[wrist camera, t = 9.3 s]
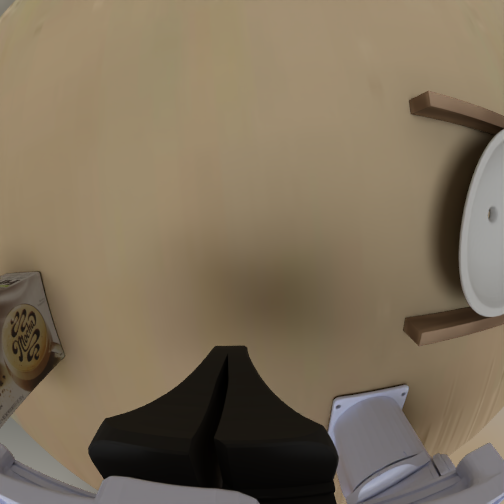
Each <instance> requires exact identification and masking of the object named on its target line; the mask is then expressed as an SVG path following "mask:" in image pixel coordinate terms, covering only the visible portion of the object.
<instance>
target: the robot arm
mask: <svg viewBox="0 0 504 504" xmlns="http://www.w3.org/2000/svg"><path fill="white" fill-rule="evenodd" d="M408 390H409V387H408V386H407V385H401V386H397V387H392V388H388V389H383V390H378V391H372V392H367V393H361V394H355V395H349V396H342V397H337V398H335V399H334V401H333V405H332V411H331V417H330V422H329V427H328V433H327V431H326V429H325V428H324V426H322V425H320V424H318V423H316V422H314V421H312V420H310V419H308V418H306V417H304V416H302V415H300V414H299V413H297V412H296V411H294V410H293V409H292V408H290V407H289V406H288V405H286V404H285V403H284V402H283V401H281V400H280V399H279V398H278V397H277V396H276V395H275V394H274V393H273V392H272V391H271V390H270V388H269V387H268V386H267V385H266V384H265V382H264V381H263V380H262V378H261V377H260V375H259V374H258V372H257V370H256V369H255V367H254V365H253V363H252V361H251V359H250V357H249V354H248V351H247V347H246V346H215V347H214V348H213V349H212V350H211V352H210V353H209V354H208V355H207V357H206V358H205V359H204V360H203V361H202V363H201V364H200V365H199V366H198V367H197V368H196V369H195V370H194V371H193V372H192V373H191V374H190V375H189V376H188V377H187V378H186V379H185V380H184V381H183V382H181V383H180V384H179V385H178V386H177V387H175V388H174V389H172V390H171V391H170V392H168V393H167V394H165V395H163V396H161V397H160V398H158V399H156V400H154V401H153V402H151V403H149V404H147V405H145V406H142V407H140V408H138V409H135V410H133V411H130V412H127V413H124V414H120V415H117V416H113V417H110V418H105V420H104V421H103V423H102V424H101V426H100V427H99V429H98V431H97V433H96V435H95V436H94V438H93V440H92V442H91V444H90V446H89V448H88V452H89V456H90V458H91V460H92V462H93V463H94V465H95V466H96V468H97V469H98V471H99V472H100V474H101V475H102V477H103V478H104V480H103V481H102V483H101V486H100V488H99V490H98V493H97V494H94V493H91V492H88V491H85V490H82V489H79V488H76V487H74V486H71V485H69V484H66V483H64V482H61V481H59V480H56V479H54V478H51V477H49V476H47V475H45V474H43V473H40V472H38V471H36V470H34V469H32V468H30V467H28V466H26V465H24V464H22V463H20V462H18V461H16V460H15V458H14V457H13V455H12V454H11V452H10V451H9V450H8V449H7V448H6V447H5V446H4V445H3V444H1V443H0V504H336V500H335V496H334V493H335V485H334V481H333V479H334V476H335V473H336V472H337V475H338V479H339V482H340V486H341V490H342V493H343V495H344V497H345V498H346V501H347V504H500V503H501V502H502V501H503V500H504V460H503V459H502V457H501V456H500V455H499V453H498V452H497V451H496V449H495V448H494V447H493V446H492V444H491V443H487V444H485V445H483V446H482V447H480V448H478V449H476V450H474V451H472V452H470V453H469V454H467V455H466V456H465V457H464V458H463V459H462V460H461V461H460V462H459V464H458V466H457V467H456V468H455V466H454V464H453V463H452V461H451V460H450V458H449V457H448V455H447V454H440V453H437V454H436V455H434V456H433V459H432V457H431V456H430V455H429V454H428V452H427V451H426V449H425V447H424V446H423V444H422V442H421V441H420V439H419V437H418V436H417V434H416V432H415V431H414V429H413V427H412V426H411V424H410V422H409V421H408V419H407V418H406V416H405V414H404V413H403V411H402V408H403V405H404V402H405V399H406V396H407V393H408ZM402 393H403V394H402ZM337 405H339V406H337Z"/></svg>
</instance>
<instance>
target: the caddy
mask: <svg viewBox="0 0 504 504" xmlns="http://www.w3.org/2000/svg"><path fill="white" fill-rule="evenodd" d="M409 102H410V110H411V114H414V115H419V116H424V117H429V118H434V119H438V120H443V121H447V122H451V123H455V124H459V125H463V126H466V127H470V128H473V129H477V130H480V131H483V132H487V133H490V134H493V135H496V134H497V133H499V132H500V131H501V130H503V129H504V116H503V115H500V114H498V113H495V112H493V111H490V110H487V109H485V108H482V107H479V106H477V105H474V104H471V103H468V102H465V101H462V100H459V99H456V98H452V97H449V96H446V95H442V94H439V93H435V92H431V91H427V92H425V93H423V94H421V95H419V96H417V97H415V98H413V99H411V100H409ZM502 324H504V314H502V315H500V316H496V317H486V316H482V315H480V314H478V313H476V312H475V311H474V310H473V309H472V308H471V307H467V308H462V309H456V310H451V311H446V312H440V313H434V314H428V315H422V316H415V317H409V318H405V324H404V329H403V330H404V331H405V332H406V333H407V334H408V335H409V336H410V337H411V338H412V339H413V340H414V342H415V343H416V344H417V345H418V346H422V345H427V344H432V343H436V342H441V341H445V340H449V339H453V338H457V337H461V336H465V335H469V334H472V333H476V332H479V331H483V330H486V329H490V328H493V327H496V326H499V325H502Z"/></svg>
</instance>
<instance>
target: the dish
mask: <svg viewBox="0 0 504 504" xmlns="http://www.w3.org/2000/svg"><path fill="white" fill-rule="evenodd" d="M489 210H490V217H489V219H488V211H489ZM459 274H460V281H461V286H462V290H463V293H464V296H465V298H466V300H467V302H468V304H469V305H470V307H471V308H472V309H473V310H474V311H475V312H476V313H478V314H480V315H482V316H486V317H496V316H500V315H502V314H504V129H503V130H501V131H500V132H499V133H497V134H496V135H495V136H494V137H493V138H492V140H491V141H490V142H489V144H488V145H487V147H486V148H485V150H484V152H483V153H482V155H481V157H480V159H479V162H478V164H477V166H476V169H475V171H474V174H473V177H472V180H471V183H470V186H469V190H468V193H467V197H466V201H465V206H464V211H463V216H462V222H461V230H460V239H459Z"/></svg>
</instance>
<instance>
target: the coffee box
mask: <svg viewBox="0 0 504 504" xmlns="http://www.w3.org/2000/svg"><path fill="white" fill-rule="evenodd" d="M64 356H65V355H64V352H63V350H62V347H61V344H60V342H59V339H58V336H57V333H56V330H55V327H54V324H53V321H52V317H51V314H50V311H49V307H48V304H47V300H46V297H45V293H44V289H43V285H42V281H41V277H40V273H39V272H24V273H10V274H4V275H2V276H0V428H1V427H2V425H3V424H4V423H5V422H6V421H7V419H8V418H9V417H10V416H11V415H12V414H13V412H14V411H15V410H16V409H17V408H18V407H19V405H20V404H21V403H22V402H23V401H24V400H25V399H26V397H27V396H28V395H29V394H30V393H31V392H32V391H33V390H34V388H35V387H36V386H37V385H38V384H39V383H40V382H41V381H42V380H43V379H44V378H45V377H46V375H47V374H48V373H49V372H50V371H51V370H52V369H53V368H54V367H55V366H56V365H57V364H58V363H59V362H60V361H61V360H62V359H63V358H64Z"/></svg>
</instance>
